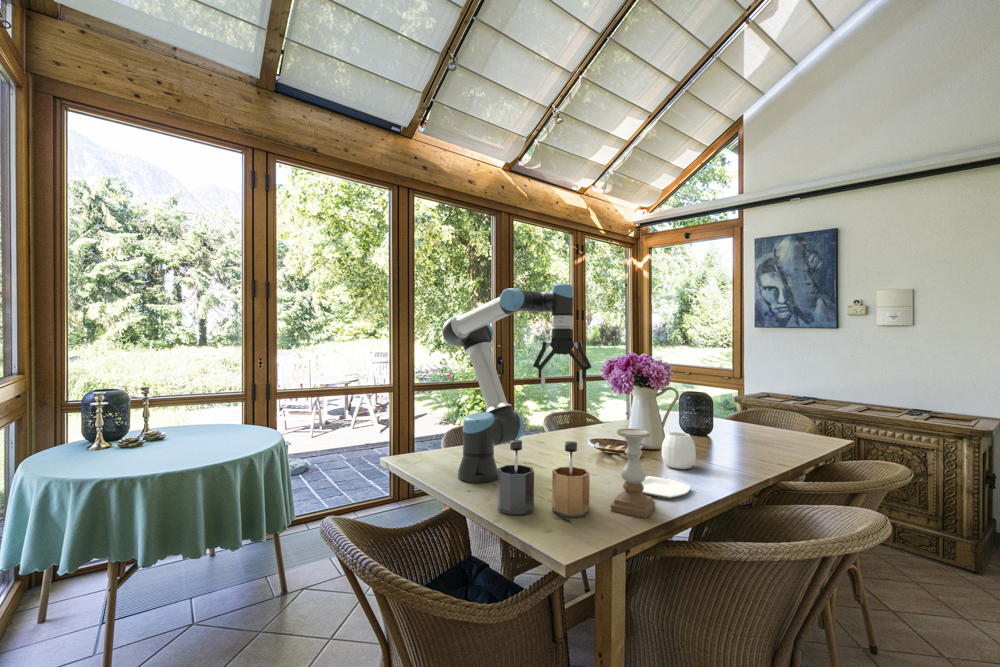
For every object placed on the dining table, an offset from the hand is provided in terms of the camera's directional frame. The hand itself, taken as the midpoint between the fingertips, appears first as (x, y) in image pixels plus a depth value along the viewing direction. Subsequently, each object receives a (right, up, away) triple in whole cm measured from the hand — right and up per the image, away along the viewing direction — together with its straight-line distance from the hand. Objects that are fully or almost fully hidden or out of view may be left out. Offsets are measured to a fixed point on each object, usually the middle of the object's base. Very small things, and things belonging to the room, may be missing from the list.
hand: (561, 388), depth 163 cm
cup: (+51, -36, +27) cm, 68 cm away
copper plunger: (0, -32, -23) cm, 40 cm away
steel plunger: (-17, -32, -21) cm, 42 cm away
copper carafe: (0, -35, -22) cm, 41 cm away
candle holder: (+19, -35, -21) cm, 45 cm away
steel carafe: (-16, -34, -20) cm, 43 cm away
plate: (+33, -36, -3) cm, 49 cm away
